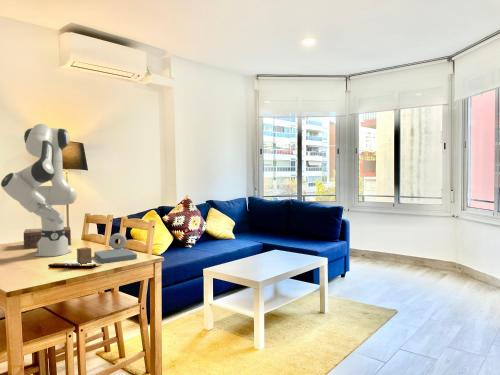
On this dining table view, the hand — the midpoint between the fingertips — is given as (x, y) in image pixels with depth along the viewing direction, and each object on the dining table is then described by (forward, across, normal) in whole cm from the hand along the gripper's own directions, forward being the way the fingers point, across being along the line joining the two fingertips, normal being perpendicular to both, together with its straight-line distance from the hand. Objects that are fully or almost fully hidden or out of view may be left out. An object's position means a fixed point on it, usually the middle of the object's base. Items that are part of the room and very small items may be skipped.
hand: (57, 222), depth 184 cm
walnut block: (+26, 0, +8) cm, 27 cm away
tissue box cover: (+31, +68, +3) cm, 75 cm away
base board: (+40, +6, -6) cm, 40 cm away
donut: (+48, +24, -14) cm, 55 cm away
